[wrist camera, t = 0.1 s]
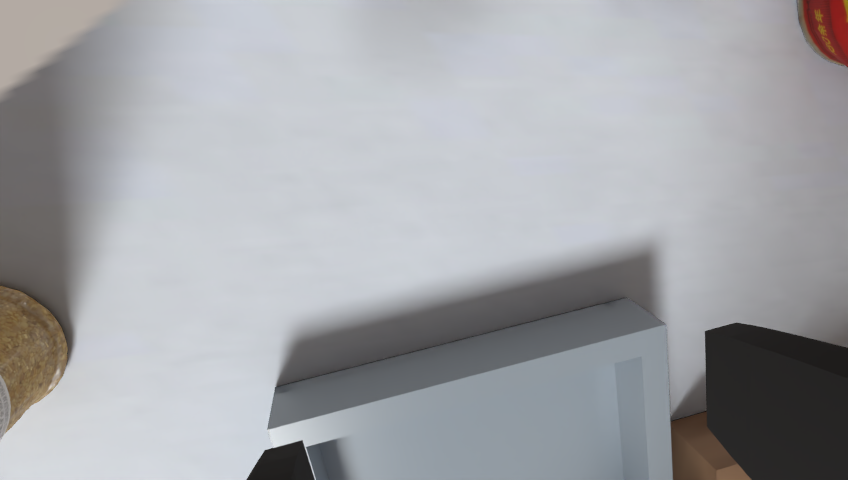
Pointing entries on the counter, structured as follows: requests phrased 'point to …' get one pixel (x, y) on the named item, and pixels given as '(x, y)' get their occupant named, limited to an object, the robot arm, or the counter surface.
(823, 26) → the soda can
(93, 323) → the counter surface
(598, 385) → the tray
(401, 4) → the counter surface
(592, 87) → the counter surface
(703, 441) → the slot block
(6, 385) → the sprinkles bottle
